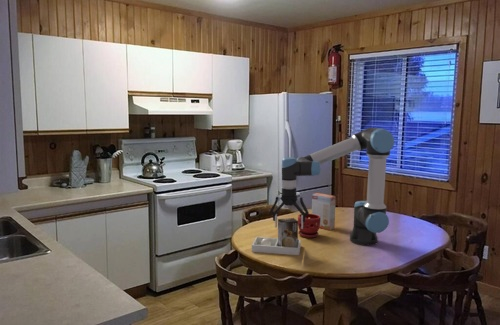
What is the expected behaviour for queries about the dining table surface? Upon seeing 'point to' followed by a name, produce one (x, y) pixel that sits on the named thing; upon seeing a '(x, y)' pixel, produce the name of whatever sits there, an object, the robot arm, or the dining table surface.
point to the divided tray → (274, 247)
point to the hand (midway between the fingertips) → (289, 227)
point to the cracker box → (324, 209)
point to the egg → (265, 242)
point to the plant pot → (309, 225)
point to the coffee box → (288, 233)
